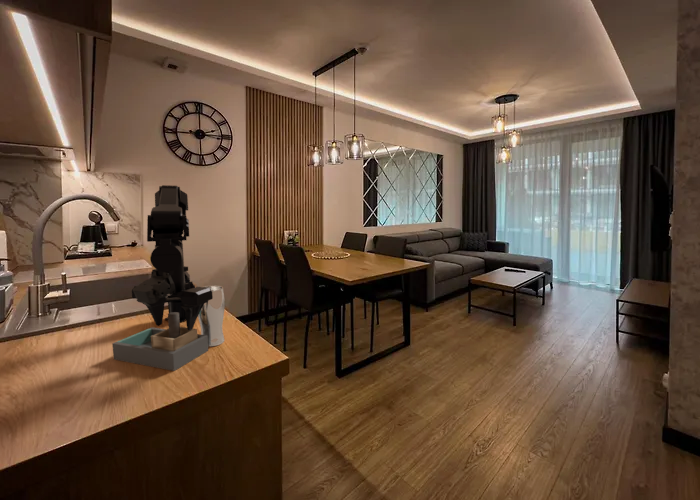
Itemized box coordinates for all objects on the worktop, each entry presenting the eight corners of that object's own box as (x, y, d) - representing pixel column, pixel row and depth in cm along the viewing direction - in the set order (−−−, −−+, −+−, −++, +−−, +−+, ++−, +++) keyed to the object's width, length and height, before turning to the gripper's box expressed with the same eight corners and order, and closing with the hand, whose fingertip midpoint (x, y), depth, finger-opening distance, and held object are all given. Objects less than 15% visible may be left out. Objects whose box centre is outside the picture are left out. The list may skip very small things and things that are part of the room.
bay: (113, 359, 80) (112, 343, 79) (152, 341, 90) (151, 327, 90) (174, 370, 75) (173, 354, 74) (208, 350, 85) (207, 335, 84)
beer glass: (216, 348, 86) (213, 292, 84) (192, 346, 87) (189, 290, 85) (231, 338, 93) (229, 285, 91) (208, 336, 94) (206, 284, 92)
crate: (152, 356, 79) (149, 316, 77) (175, 344, 85) (173, 308, 84) (176, 360, 77) (173, 320, 75) (198, 348, 83) (196, 310, 82)
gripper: (106, 267, 73) (112, 335, 75) (175, 273, 68) (179, 346, 70) (150, 259, 83) (154, 319, 86) (212, 264, 78) (215, 327, 80)
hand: (174, 327), depth 80 cm, fingers open, 9 cm apart
